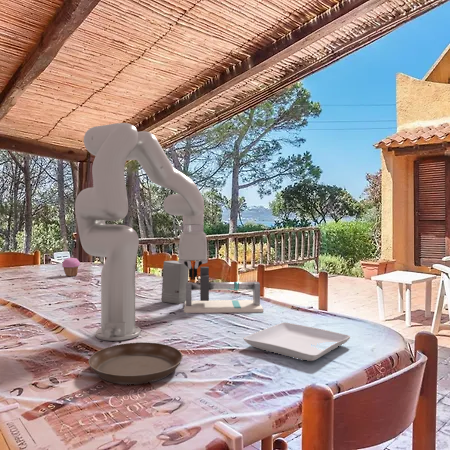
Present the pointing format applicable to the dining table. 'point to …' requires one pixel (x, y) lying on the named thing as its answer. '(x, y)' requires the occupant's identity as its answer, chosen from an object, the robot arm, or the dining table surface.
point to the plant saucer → (135, 362)
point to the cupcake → (71, 266)
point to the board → (222, 306)
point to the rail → (225, 286)
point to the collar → (204, 283)
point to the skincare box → (174, 282)
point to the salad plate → (295, 340)
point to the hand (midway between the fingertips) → (193, 279)
